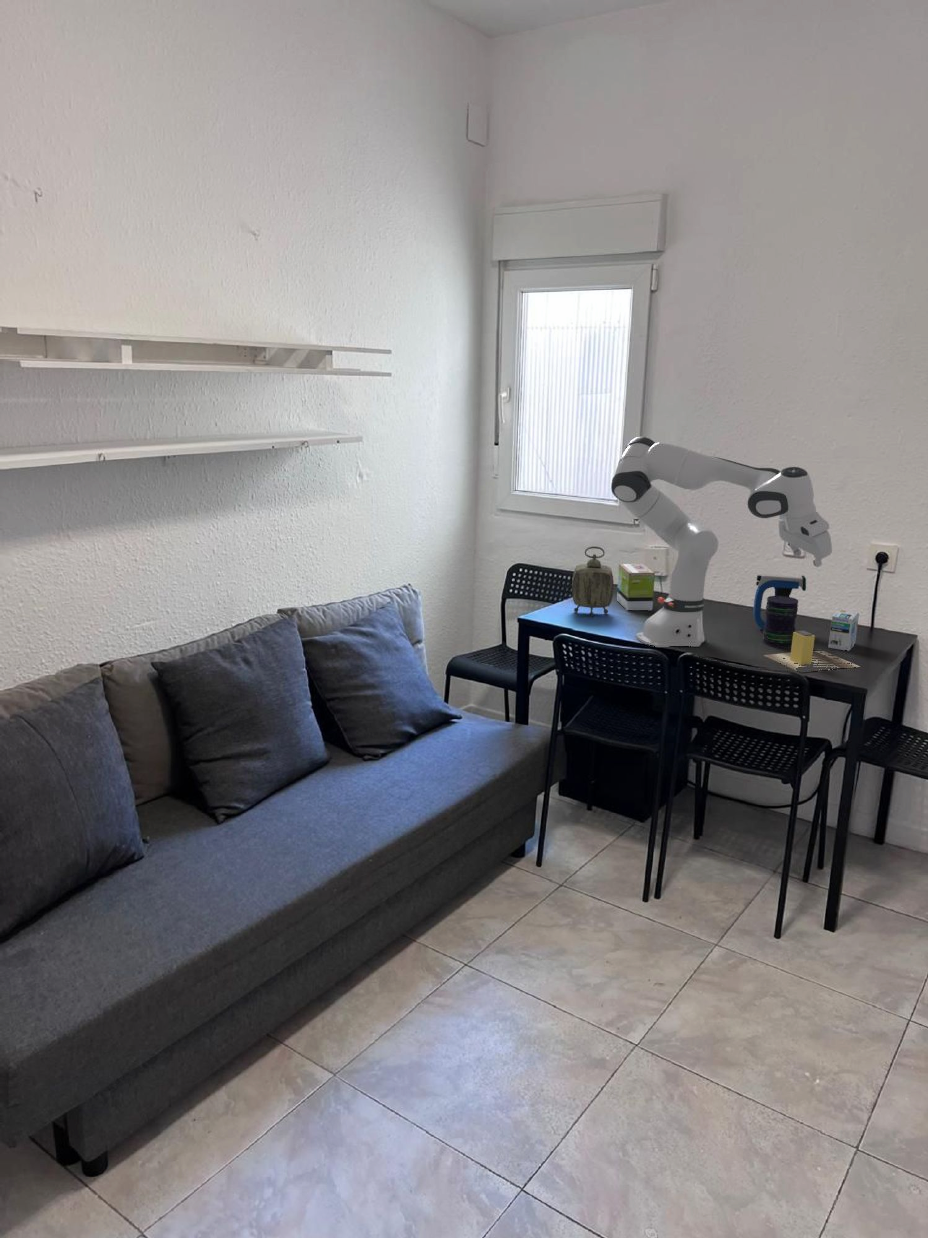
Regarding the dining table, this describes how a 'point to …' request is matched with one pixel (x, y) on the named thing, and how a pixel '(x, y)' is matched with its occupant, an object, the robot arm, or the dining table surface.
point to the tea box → (635, 586)
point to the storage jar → (780, 621)
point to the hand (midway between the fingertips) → (807, 560)
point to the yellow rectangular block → (802, 647)
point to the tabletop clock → (592, 584)
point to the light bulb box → (843, 630)
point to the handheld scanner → (781, 586)
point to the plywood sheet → (793, 666)
